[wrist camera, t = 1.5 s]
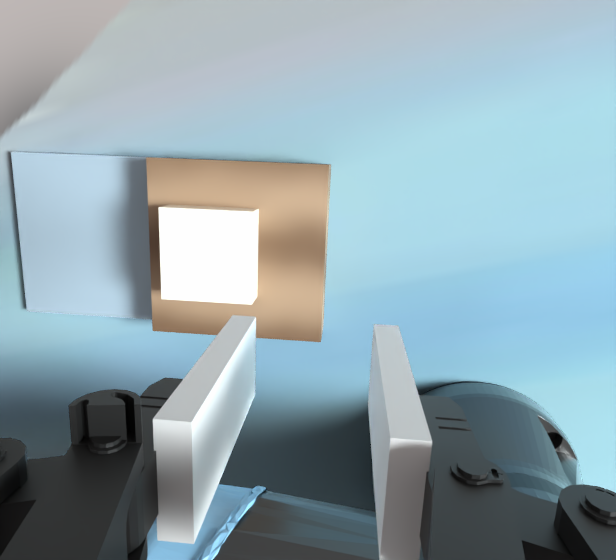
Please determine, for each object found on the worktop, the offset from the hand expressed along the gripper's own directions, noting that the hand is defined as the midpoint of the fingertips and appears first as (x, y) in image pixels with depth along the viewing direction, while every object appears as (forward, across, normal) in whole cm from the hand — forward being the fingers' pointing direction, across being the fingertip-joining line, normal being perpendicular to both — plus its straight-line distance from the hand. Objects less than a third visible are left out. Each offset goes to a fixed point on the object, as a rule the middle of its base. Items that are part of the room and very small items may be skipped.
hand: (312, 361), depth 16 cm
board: (+21, +6, 0) cm, 22 cm away
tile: (+18, +8, 0) cm, 19 cm away
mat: (+21, +18, 0) cm, 27 cm away
